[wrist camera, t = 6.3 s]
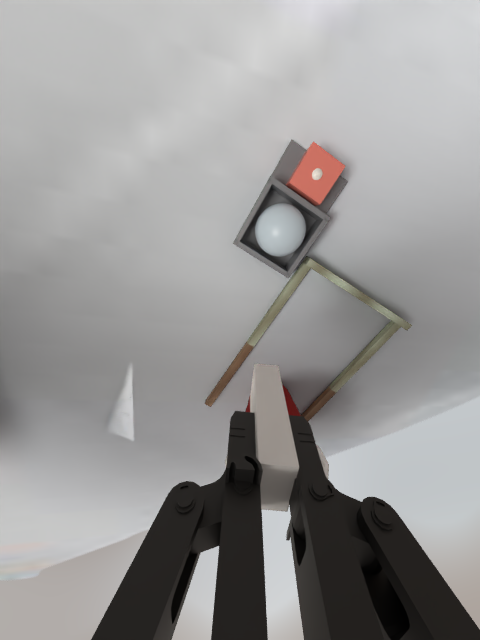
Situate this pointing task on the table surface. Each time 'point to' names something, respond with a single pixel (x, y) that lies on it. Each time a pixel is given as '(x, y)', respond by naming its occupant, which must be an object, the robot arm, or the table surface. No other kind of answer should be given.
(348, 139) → the table surface
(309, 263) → the u-shaped frame
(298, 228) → the dome
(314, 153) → the dome housing
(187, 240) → the table surface
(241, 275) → the table surface
